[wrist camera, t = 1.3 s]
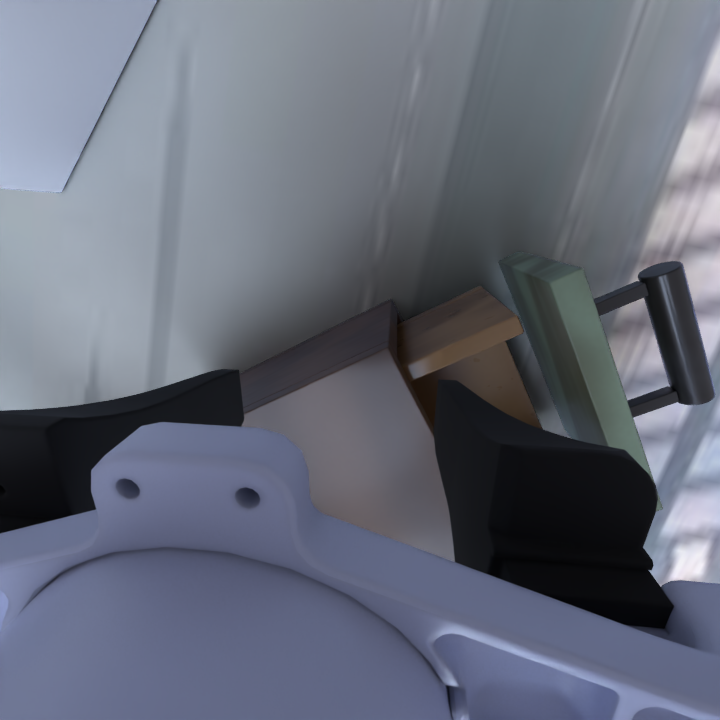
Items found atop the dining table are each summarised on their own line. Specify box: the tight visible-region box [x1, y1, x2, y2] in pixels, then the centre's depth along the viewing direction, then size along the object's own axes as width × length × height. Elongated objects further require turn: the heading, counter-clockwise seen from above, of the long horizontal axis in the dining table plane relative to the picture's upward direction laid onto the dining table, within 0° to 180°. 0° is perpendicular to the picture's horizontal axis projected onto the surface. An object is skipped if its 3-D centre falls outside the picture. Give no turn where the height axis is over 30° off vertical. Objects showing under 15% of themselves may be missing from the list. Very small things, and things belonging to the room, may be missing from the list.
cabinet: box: [239, 299, 455, 562], centre depth 21 cm, size 14×13×9 cm
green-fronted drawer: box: [397, 251, 715, 511], centre depth 19 cm, size 17×11×7 cm
